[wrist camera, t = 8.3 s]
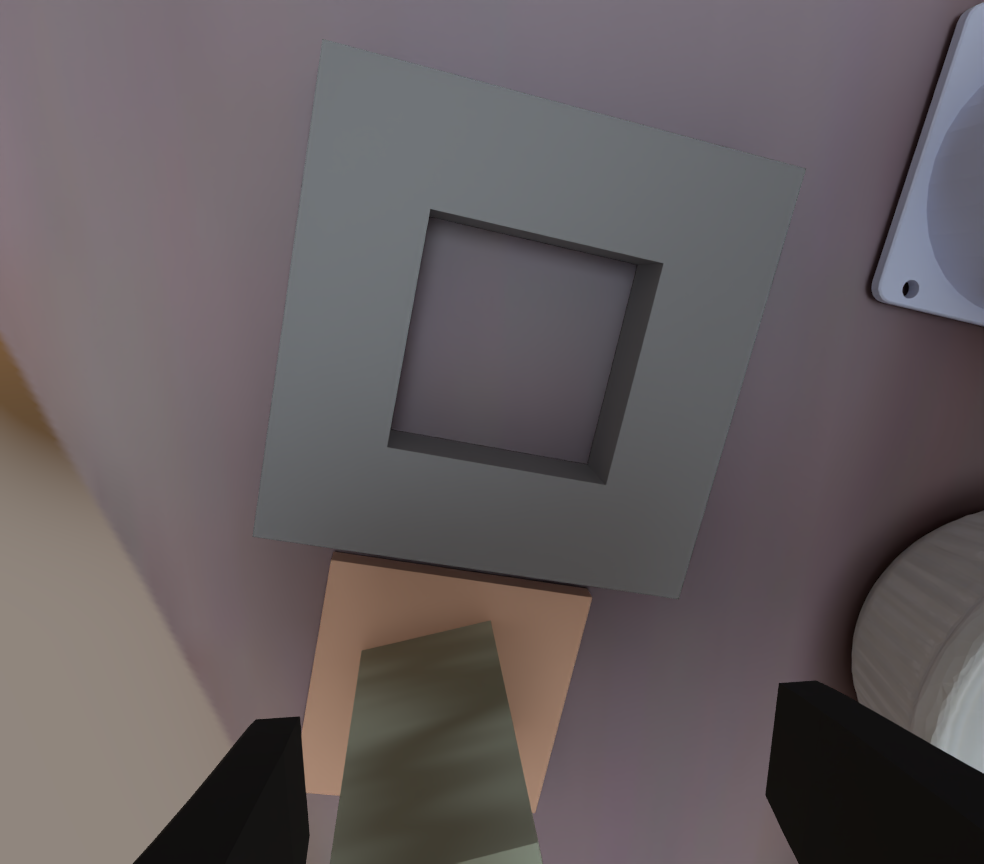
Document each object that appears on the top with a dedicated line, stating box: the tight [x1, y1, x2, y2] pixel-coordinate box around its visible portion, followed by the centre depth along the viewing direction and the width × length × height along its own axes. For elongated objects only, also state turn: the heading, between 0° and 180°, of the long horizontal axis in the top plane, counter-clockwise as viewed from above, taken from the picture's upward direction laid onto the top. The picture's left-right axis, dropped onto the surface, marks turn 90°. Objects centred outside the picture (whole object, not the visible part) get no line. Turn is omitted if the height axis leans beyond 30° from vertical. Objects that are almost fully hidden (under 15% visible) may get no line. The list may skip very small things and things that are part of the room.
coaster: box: [301, 552, 592, 813], centre depth 20 cm, size 8×8×1 cm
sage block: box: [330, 620, 543, 864], centre depth 16 cm, size 4×4×8 cm
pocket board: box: [253, 39, 806, 599], centre depth 17 cm, size 12×12×2 cm
